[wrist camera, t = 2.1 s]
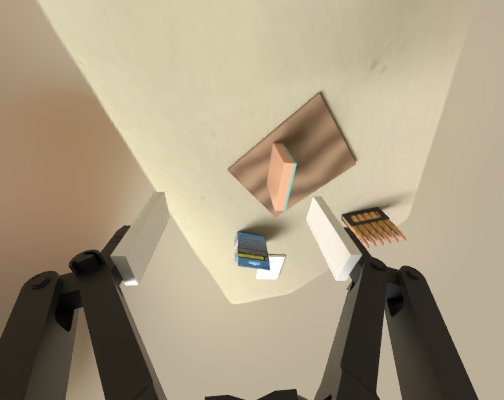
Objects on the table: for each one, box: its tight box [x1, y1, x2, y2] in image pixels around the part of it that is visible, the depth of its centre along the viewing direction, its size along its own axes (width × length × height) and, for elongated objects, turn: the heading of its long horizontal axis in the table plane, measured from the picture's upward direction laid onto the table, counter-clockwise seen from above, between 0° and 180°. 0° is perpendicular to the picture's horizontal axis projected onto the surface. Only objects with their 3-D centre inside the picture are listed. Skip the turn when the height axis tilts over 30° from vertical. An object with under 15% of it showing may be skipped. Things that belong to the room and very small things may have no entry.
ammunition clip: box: [342, 207, 406, 248], centre depth 49 cm, size 11×2×12 cm, turn 102°
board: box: [228, 93, 356, 217], centre depth 44 cm, size 19×24×1 cm
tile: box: [267, 143, 297, 211], centre depth 38 cm, size 2×10×11 cm, turn 175°
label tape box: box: [235, 232, 270, 271], centre depth 52 cm, size 9×4×12 cm, turn 73°
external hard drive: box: [256, 255, 285, 279], centre depth 65 cm, size 2×8×12 cm
